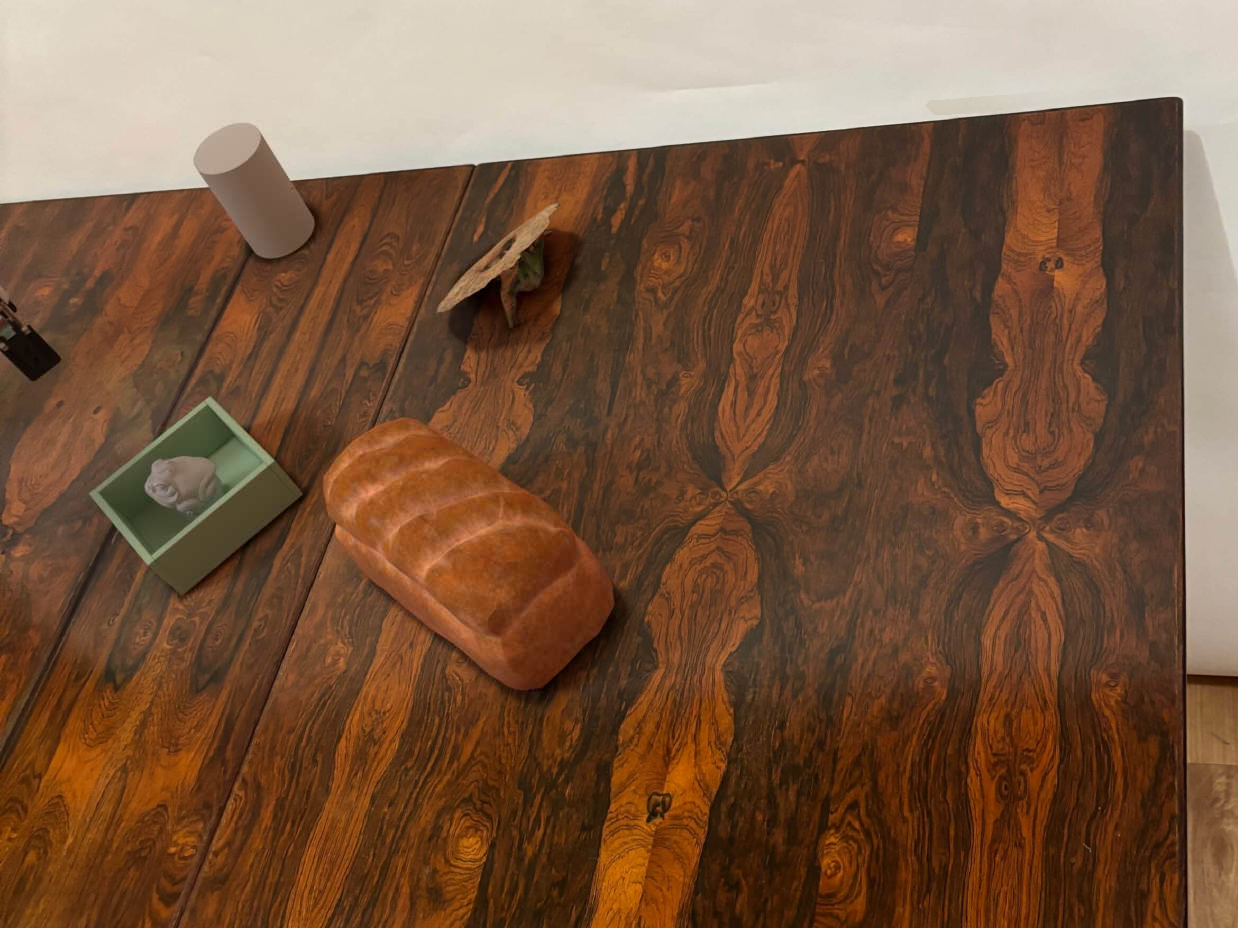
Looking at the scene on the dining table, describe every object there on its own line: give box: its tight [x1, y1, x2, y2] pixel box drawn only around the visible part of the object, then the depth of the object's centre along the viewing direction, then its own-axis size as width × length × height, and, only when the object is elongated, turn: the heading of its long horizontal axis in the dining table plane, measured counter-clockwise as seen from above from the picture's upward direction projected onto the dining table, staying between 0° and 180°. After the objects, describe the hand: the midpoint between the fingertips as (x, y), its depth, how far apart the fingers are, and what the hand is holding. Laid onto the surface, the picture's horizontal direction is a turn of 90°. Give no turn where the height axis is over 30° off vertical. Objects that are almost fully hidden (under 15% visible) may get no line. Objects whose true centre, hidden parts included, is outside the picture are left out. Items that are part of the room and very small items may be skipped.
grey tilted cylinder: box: [193, 122, 315, 259], centre depth 134 cm, size 8×8×12 cm
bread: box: [322, 417, 615, 691], centre depth 102 cm, size 14×26×16 cm, turn 47°
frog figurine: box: [145, 456, 223, 515], centre depth 117 cm, size 6×7×7 cm
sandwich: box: [436, 202, 561, 329], centre depth 123 cm, size 18×14×8 cm
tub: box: [88, 395, 304, 596], centre depth 118 cm, size 16×14×6 cm
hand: (24, 344), depth 103 cm, fingers open, 9 cm apart
